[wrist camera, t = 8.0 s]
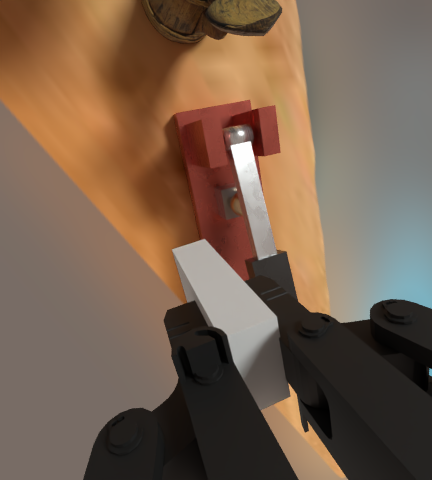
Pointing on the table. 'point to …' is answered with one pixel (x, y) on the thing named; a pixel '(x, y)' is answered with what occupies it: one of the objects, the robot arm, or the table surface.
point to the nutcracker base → (222, 173)
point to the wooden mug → (211, 18)
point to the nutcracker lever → (255, 210)
